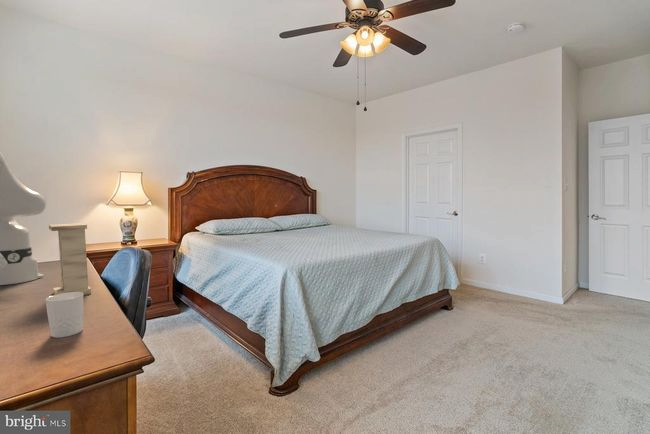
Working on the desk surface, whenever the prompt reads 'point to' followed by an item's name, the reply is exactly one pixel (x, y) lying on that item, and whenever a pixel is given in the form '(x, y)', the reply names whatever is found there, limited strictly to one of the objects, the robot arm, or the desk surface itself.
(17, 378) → the desk surface
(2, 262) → the turner
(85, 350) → the desk surface
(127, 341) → the desk surface
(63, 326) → the white cup
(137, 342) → the desk surface
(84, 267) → the pedestal stand
